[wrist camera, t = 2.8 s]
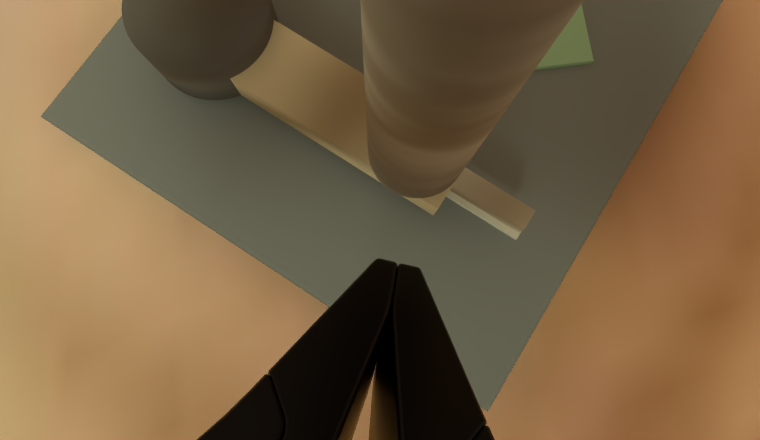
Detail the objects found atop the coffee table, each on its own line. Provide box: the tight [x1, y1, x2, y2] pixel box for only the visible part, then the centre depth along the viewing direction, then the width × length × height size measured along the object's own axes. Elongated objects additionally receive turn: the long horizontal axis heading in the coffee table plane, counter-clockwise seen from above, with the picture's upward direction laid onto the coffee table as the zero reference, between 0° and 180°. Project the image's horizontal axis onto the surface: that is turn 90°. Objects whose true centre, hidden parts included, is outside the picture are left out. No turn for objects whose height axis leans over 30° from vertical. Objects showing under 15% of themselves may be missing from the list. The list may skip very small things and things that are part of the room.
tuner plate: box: [41, 0, 722, 411], centre depth 17 cm, size 18×18×1 cm
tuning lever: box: [122, 0, 584, 232], centre depth 10 cm, size 14×4×10 cm, turn 57°
